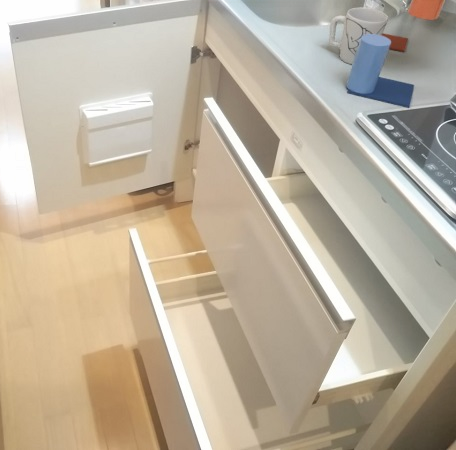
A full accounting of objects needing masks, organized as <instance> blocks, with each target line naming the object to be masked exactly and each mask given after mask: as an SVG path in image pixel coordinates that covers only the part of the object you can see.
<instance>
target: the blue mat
mask: <svg viewBox="0 0 456 450" xmlns="http://www.w3.org/2000/svg"><path fill="white" fill-rule="evenodd" d="M414 89H415V84H412V83H408V82H403V81H400V80H395V79H390V78H386V77H382V76H379V79H378V81H377V84H376V87H375V90H374V91H373V92H372V93H369V94H360V93H356V92H353V91H351V90H349V89H348V88H347V92H346V93H347V94H349V95H354V96H359V97H362V98H367V99H369V100H374V101H380V102H384V103H387V104H392V105H395V106H400V107H404V108H408V109H409V108H410V107H411V102H412V98H413V94H414V93H413V92H414Z"/></svg>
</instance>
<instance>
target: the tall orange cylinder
mask: <svg viewBox="0 0 456 450" xmlns="http://www.w3.org/2000/svg"><path fill="white" fill-rule="evenodd" d="M445 1H446V0H411V2H410V4H409V6H408V10H407V13H408V14H409V15H410V16H412V17H414V18H417V19H420V20H421V19H422V20H427V21H428V20H429V21H430V20H436V19H438V18H439V16H440V14H441V12H442V9H443V6H444V4H445Z"/></svg>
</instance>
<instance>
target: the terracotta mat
mask: <svg viewBox="0 0 456 450" xmlns="http://www.w3.org/2000/svg"><path fill="white" fill-rule="evenodd" d="M382 36H384V37H387V38H388V39H390V40H391V45H390V48H389V50H391V51H392V50H393V51H397V52H402V53H405V52H406V49H407V45H408V42H409V38H407V37H403V36H400V35H399V36H398V35H393V34H387V33H384V32H383V34H382Z"/></svg>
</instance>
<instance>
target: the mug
mask: <svg viewBox="0 0 456 450" xmlns="http://www.w3.org/2000/svg"><path fill="white" fill-rule="evenodd" d="M388 21H389V16H388V15H387V14H386V13H385V12H383V11H381V10H378V9H375V8H370V7H359V6H358V7H353V8H350V9H348V10H347V12H346V15H337V16H334V17H333V18H332V19H331V20H330V24H329V38H328V41H329V44H330V46H332V47H333V48H336V49H339V50H340V52H339V56H340V57H339V58H340V60H341V61H342V62H344V63H346V64H349V65H352V64H353V61H354V58H355V55H356V52H357V48H358V45H359V42H360V39H361V36H362V35H365V34H377V35H382V34H383V33H384V31H385V29H386V27H387V24H388ZM339 22H340V23H342V24H343V29H342V34H341V40H340V41H337V40H336V33H337V32H336V31H337V24H338V23H339Z"/></svg>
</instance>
